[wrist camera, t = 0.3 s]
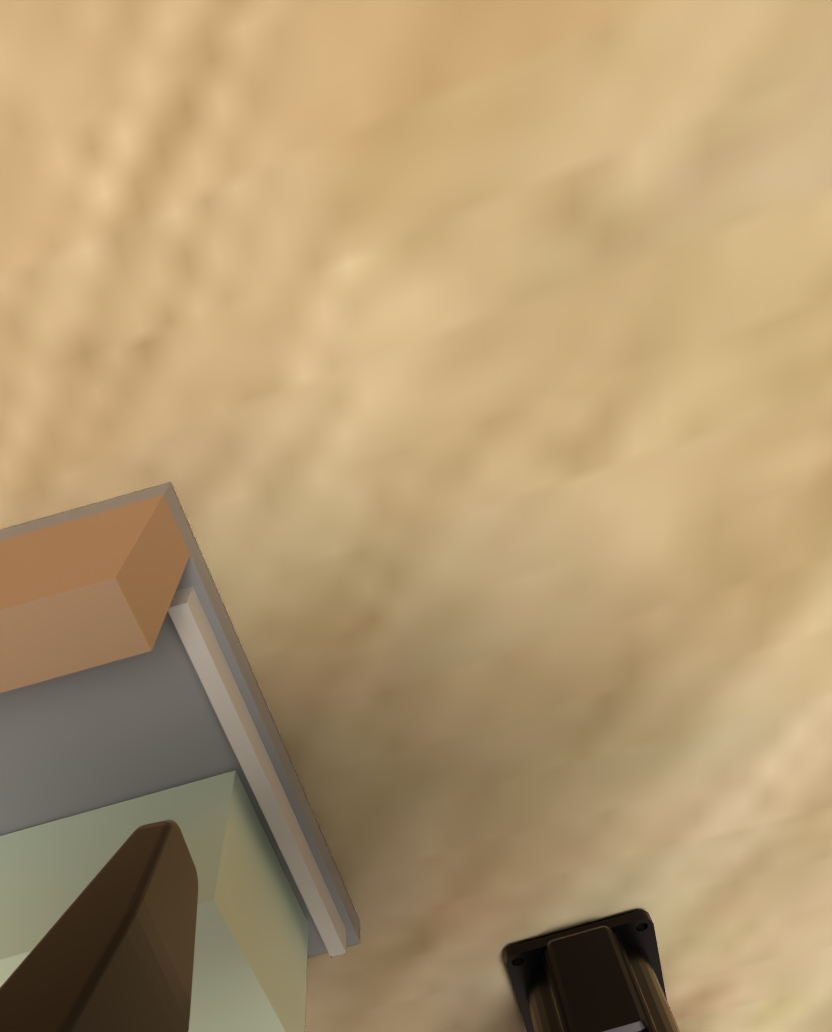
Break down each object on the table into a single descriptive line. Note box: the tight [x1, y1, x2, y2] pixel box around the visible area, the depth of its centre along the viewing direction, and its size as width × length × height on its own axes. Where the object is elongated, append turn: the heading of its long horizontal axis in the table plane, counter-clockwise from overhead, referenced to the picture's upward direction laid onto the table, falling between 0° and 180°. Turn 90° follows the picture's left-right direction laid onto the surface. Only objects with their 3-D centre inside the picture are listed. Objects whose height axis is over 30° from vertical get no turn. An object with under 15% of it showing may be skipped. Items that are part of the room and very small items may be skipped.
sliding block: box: [0, 770, 308, 1032], centre depth 24 cm, size 8×10×5 cm
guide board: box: [0, 482, 360, 958], centre depth 23 cm, size 20×13×6 cm, turn 14°
